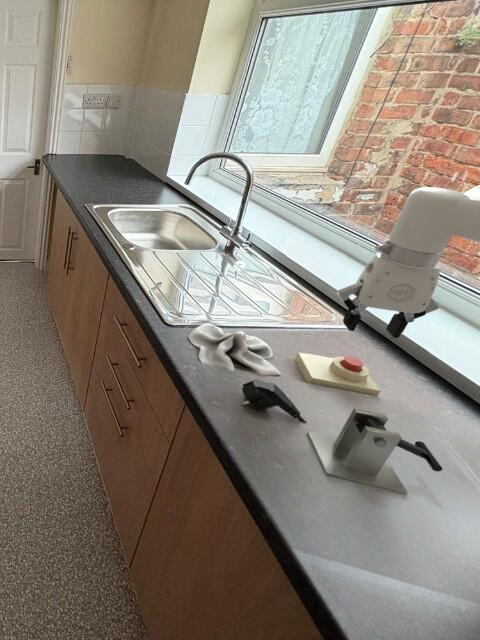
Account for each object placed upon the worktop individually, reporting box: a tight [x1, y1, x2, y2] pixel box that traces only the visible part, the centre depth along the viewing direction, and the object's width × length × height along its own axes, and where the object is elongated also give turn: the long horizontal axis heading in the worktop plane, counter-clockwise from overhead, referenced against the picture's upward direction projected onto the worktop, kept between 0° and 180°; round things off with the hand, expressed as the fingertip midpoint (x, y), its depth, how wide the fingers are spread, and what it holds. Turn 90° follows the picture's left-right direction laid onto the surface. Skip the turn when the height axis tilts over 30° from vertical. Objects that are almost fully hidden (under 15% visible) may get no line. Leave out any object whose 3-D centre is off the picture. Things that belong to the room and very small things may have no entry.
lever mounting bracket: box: [306, 407, 408, 495], centre depth 71 cm, size 11×9×11 cm
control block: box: [294, 351, 381, 397], centre depth 92 cm, size 12×9×4 cm
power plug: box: [241, 378, 308, 424], centre depth 84 cm, size 6×8×12 cm
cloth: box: [187, 323, 282, 377], centre depth 99 cm, size 22×19×6 cm
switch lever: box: [356, 417, 443, 473], centre depth 69 cm, size 11×5×2 cm, turn 72°
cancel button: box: [341, 355, 364, 372], centre depth 90 cm, size 3×3×2 cm
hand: (370, 330), depth 86 cm, fingers open, 6 cm apart
